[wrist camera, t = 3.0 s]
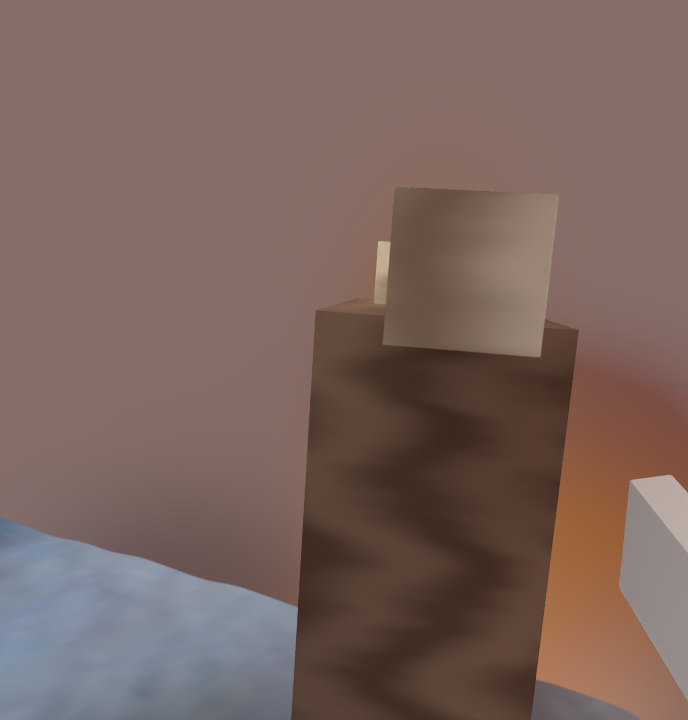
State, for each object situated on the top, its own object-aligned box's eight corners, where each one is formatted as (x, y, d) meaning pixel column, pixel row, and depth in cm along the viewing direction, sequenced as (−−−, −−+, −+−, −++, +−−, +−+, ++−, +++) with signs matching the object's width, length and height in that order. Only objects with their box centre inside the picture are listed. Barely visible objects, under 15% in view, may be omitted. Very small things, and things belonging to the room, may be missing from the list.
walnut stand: (277, 953, 28) (315, 310, 23) (327, 719, 42) (356, 298, 38) (496, 998, 26) (578, 330, 22) (469, 741, 41) (516, 309, 37)
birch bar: (303, 338, 13) (311, 182, 13) (378, 300, 37) (383, 245, 36) (627, 364, 13) (650, 199, 12) (493, 308, 36) (499, 252, 36)
